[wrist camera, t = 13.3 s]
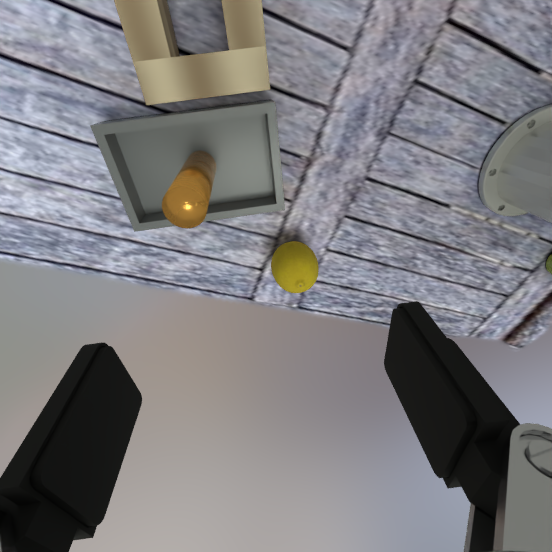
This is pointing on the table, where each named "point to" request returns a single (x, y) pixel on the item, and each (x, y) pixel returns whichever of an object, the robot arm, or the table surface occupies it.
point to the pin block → (200, 67)
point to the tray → (184, 141)
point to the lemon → (294, 267)
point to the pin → (190, 191)
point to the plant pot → (549, 264)
